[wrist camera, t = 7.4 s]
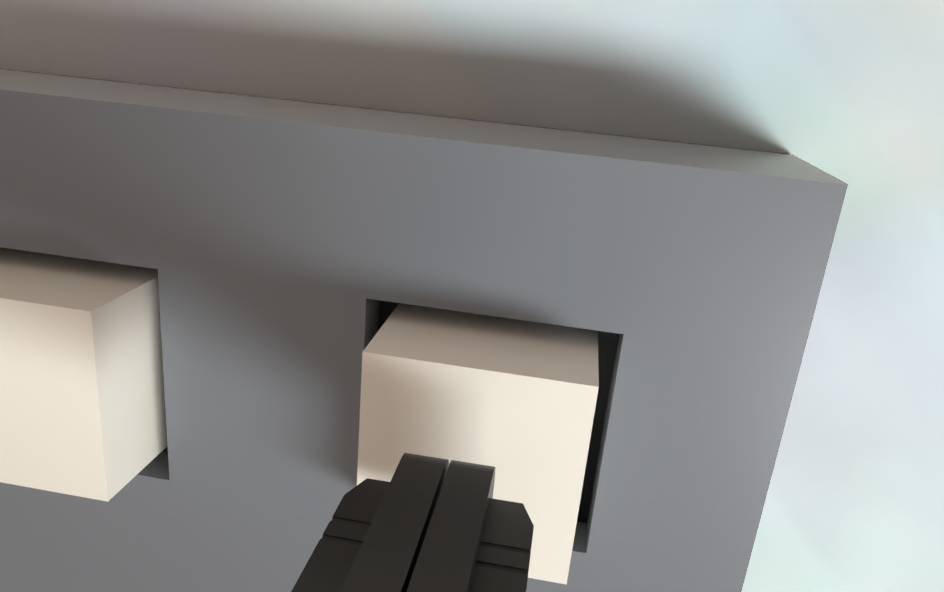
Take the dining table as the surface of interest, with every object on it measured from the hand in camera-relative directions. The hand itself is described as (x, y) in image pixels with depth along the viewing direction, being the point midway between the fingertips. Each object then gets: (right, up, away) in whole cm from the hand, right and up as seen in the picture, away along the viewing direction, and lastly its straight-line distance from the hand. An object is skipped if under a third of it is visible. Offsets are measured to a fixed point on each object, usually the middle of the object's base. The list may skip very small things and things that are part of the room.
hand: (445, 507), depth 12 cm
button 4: (-8, +2, +4) cm, 10 cm away
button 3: (+1, +1, +3) cm, 4 cm away
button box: (-4, -2, +8) cm, 9 cm away
